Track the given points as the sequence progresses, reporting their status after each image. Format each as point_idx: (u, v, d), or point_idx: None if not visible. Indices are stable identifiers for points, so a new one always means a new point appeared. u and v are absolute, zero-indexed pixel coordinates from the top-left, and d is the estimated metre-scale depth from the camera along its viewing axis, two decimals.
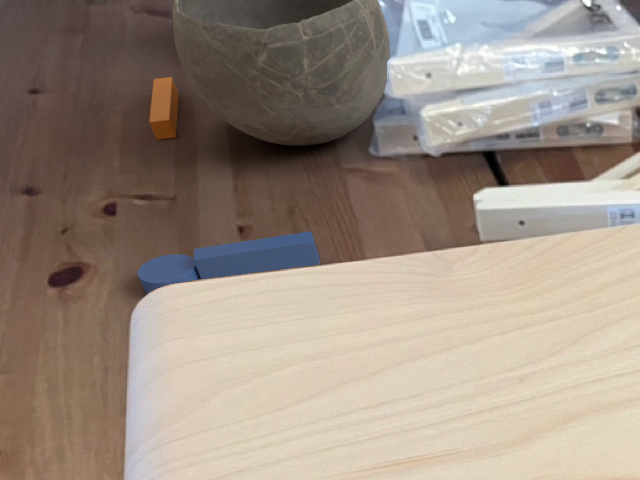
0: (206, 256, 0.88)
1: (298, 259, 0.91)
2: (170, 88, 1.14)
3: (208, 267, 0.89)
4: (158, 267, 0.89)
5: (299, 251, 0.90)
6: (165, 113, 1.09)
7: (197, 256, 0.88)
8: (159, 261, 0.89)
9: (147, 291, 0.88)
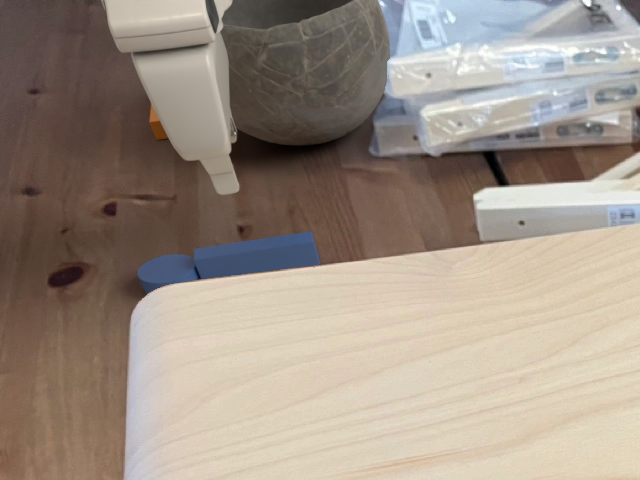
0: (206, 256, 0.88)
1: (298, 259, 0.91)
2: None
3: (208, 267, 0.89)
4: (158, 267, 0.89)
5: (299, 251, 0.90)
6: None
7: (197, 256, 0.88)
8: (159, 261, 0.89)
9: (147, 291, 0.88)
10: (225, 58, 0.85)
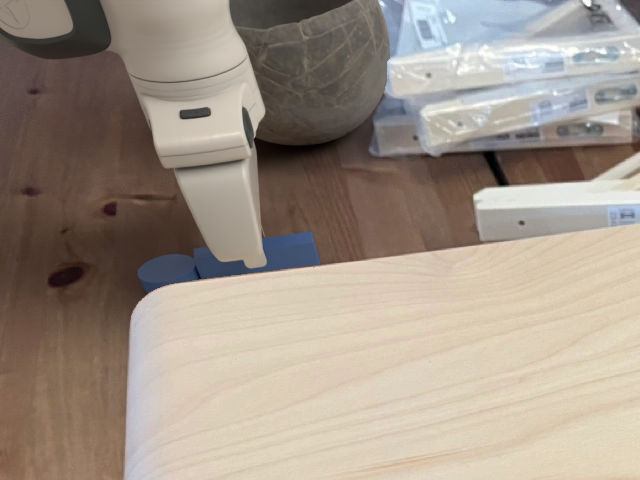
0: (206, 256, 0.88)
1: (298, 259, 0.91)
2: None
3: (208, 267, 0.89)
4: (158, 266, 0.89)
5: (299, 251, 0.90)
6: None
7: (197, 256, 0.88)
8: (159, 261, 0.89)
9: (147, 291, 0.88)
10: (254, 154, 0.91)
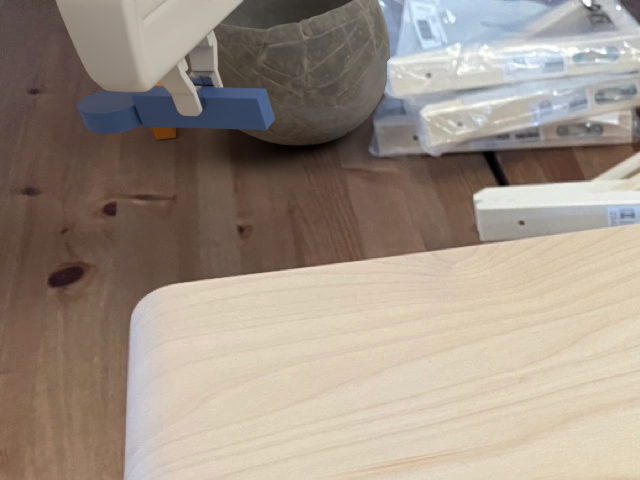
0: (145, 94, 0.79)
1: (242, 116, 0.80)
2: None
3: (147, 107, 0.80)
4: (104, 98, 0.81)
5: (243, 107, 0.80)
6: None
7: (137, 93, 0.80)
8: (109, 93, 0.82)
9: None
10: None
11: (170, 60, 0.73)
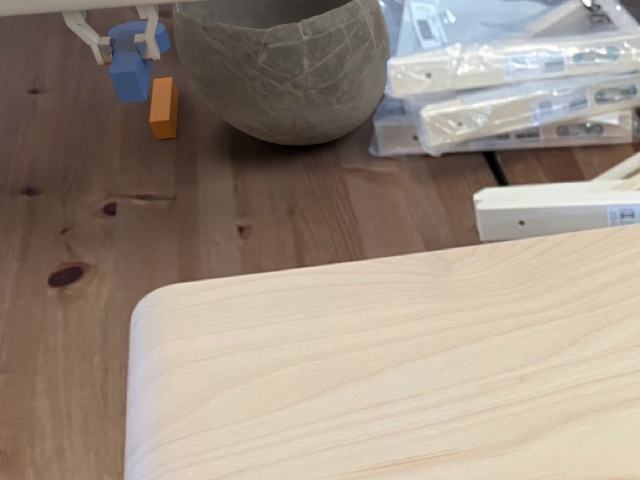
0: (121, 34, 0.89)
1: None
2: (170, 88, 1.14)
3: None
4: (141, 27, 0.93)
5: None
6: (165, 113, 1.09)
7: (123, 31, 0.90)
8: None
9: None
10: None
11: (27, 6, 0.81)
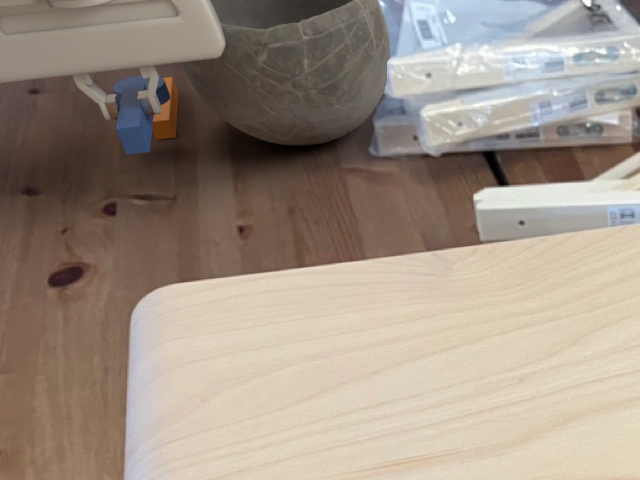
0: (125, 90, 0.98)
1: None
2: (170, 88, 1.14)
3: None
4: (143, 81, 1.02)
5: None
6: (165, 113, 1.09)
7: (127, 86, 0.99)
8: None
9: None
10: (182, 48, 0.92)
11: (41, 71, 0.90)
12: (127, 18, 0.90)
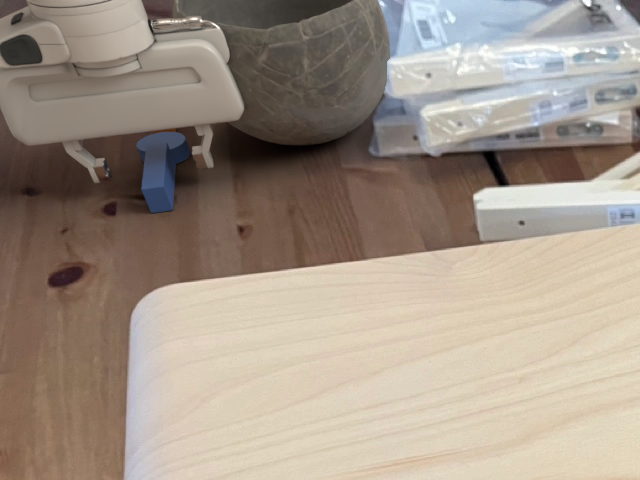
0: (149, 148, 1.02)
1: None
2: None
3: None
4: (165, 138, 1.06)
5: None
6: None
7: (151, 145, 1.03)
8: (175, 137, 1.06)
9: None
10: (203, 112, 0.96)
11: (68, 134, 0.94)
12: (151, 85, 0.94)
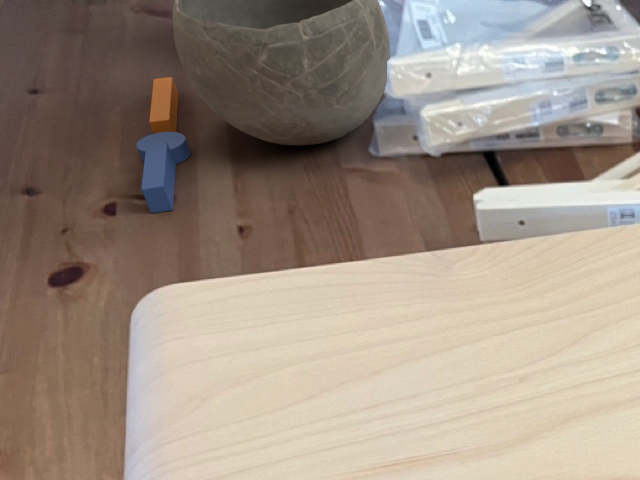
0: (149, 148, 1.02)
1: None
2: (170, 88, 1.14)
3: None
4: (165, 138, 1.06)
5: None
6: (165, 113, 1.09)
7: (151, 145, 1.03)
8: (175, 137, 1.06)
9: None
10: None
11: None
12: None
